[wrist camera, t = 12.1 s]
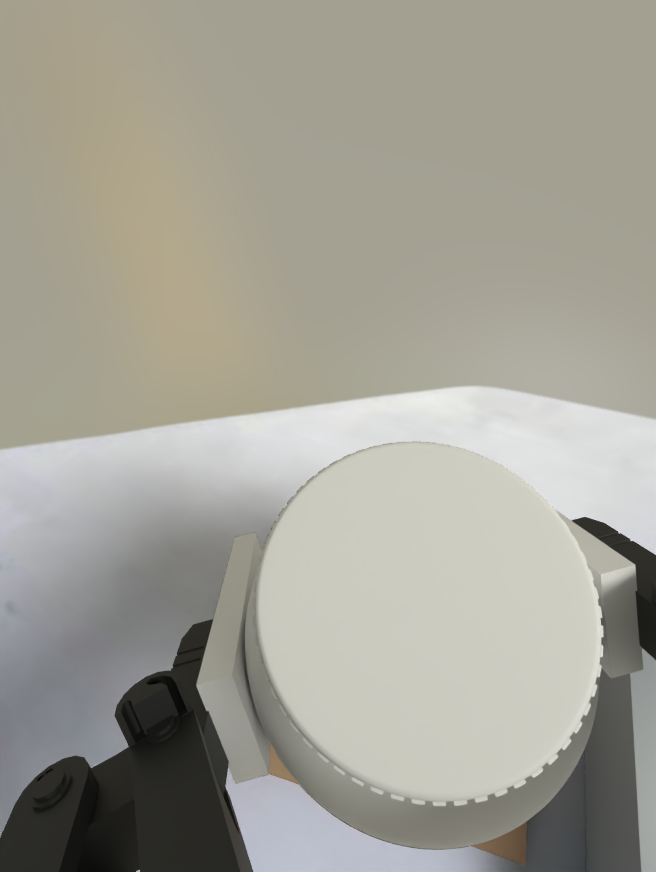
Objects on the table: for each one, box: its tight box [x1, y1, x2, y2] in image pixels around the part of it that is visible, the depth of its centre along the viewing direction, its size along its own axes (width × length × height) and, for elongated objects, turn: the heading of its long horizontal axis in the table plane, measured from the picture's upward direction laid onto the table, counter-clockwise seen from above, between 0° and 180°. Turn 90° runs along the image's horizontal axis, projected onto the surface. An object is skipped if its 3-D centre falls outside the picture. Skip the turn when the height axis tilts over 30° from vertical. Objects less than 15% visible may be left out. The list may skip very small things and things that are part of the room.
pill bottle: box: [245, 442, 604, 850], centre depth 13 cm, size 8×8×15 cm
